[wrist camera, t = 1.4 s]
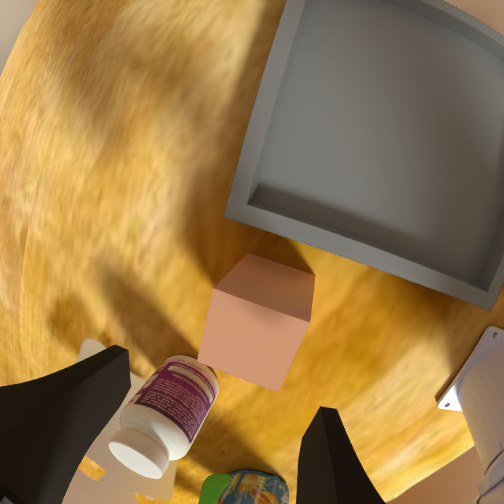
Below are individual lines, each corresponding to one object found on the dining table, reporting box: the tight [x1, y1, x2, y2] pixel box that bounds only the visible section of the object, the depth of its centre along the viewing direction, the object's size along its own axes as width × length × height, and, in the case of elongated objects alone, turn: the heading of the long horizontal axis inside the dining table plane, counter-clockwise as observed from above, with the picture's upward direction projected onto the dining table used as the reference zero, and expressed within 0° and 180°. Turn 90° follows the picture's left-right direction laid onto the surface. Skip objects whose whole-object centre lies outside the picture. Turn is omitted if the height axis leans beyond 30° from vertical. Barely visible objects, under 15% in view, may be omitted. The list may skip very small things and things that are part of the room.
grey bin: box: [224, 0, 504, 311], centre depth 12 cm, size 17×17×2 cm
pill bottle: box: [109, 355, 219, 479], centre depth 18 cm, size 5×5×10 cm
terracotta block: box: [197, 252, 315, 392], centre depth 16 cm, size 4×4×6 cm
